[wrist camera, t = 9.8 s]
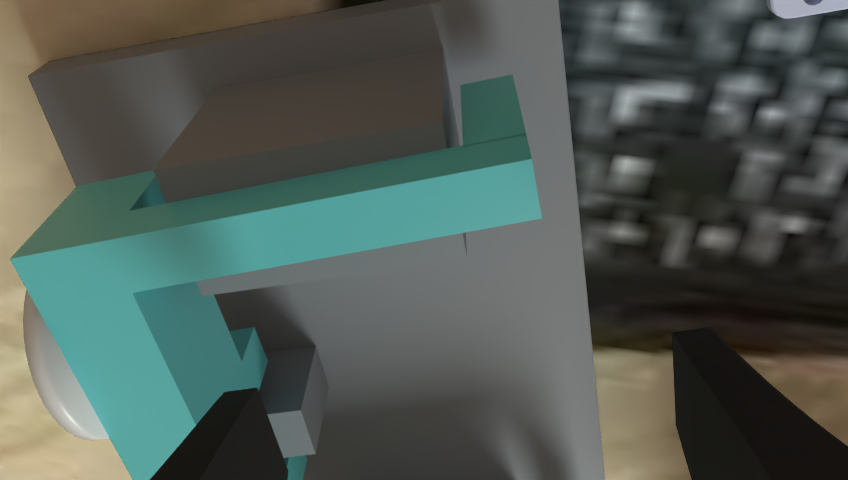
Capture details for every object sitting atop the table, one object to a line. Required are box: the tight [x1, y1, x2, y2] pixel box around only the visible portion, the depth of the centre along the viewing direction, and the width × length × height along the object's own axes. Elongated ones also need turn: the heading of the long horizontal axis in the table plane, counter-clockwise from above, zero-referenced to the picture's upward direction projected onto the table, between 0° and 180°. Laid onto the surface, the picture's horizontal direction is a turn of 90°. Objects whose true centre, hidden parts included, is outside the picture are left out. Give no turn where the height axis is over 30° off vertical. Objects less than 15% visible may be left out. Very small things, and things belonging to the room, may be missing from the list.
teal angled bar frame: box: [10, 74, 542, 480], centre depth 20 cm, size 10×16×5 cm, turn 13°
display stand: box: [28, 0, 605, 480], centre depth 22 cm, size 13×20×6 cm, turn 10°
